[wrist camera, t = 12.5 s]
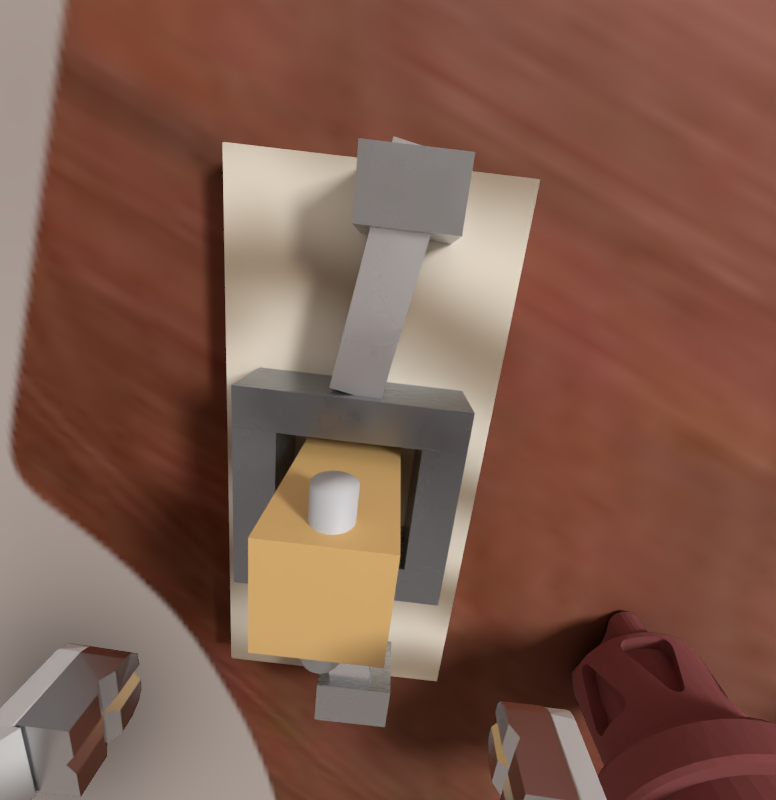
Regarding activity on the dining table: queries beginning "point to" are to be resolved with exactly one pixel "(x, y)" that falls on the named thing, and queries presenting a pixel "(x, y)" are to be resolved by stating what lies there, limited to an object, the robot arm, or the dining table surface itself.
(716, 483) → the dining table surface
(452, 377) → the board
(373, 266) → the shaft assembly
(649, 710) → the mechanical component
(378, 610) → the coupler
